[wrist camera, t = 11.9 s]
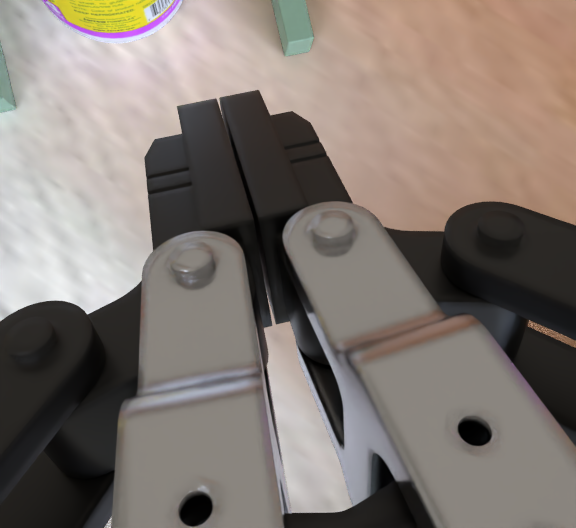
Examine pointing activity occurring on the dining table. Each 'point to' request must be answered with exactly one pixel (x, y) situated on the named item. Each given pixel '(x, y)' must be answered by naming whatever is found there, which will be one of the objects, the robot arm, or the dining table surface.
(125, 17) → the supplement bottle
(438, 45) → the dining table surface
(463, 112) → the dining table surface
